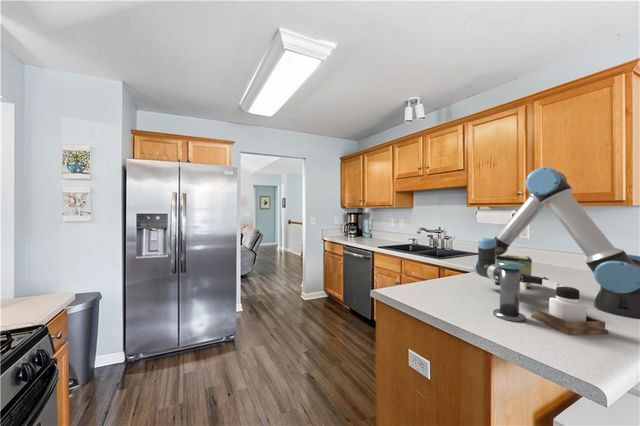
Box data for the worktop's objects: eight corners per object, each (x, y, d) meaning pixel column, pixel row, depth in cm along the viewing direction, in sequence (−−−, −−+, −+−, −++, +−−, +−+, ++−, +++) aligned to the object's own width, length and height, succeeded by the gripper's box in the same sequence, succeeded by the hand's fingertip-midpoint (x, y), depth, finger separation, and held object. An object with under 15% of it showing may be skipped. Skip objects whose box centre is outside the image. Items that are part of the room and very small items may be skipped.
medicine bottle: (586, 326, 91) (587, 291, 91) (562, 324, 92) (563, 289, 92) (570, 318, 98) (571, 285, 98) (548, 316, 99) (549, 284, 99)
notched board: (566, 316, 102) (566, 307, 102) (608, 334, 88) (608, 323, 88) (531, 317, 101) (531, 307, 101) (568, 334, 87) (568, 323, 87)
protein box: (531, 289, 138) (532, 259, 137) (494, 284, 146) (495, 256, 146) (528, 285, 147) (529, 256, 146) (494, 280, 155) (495, 253, 155)
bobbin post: (511, 311, 107) (512, 260, 107) (532, 321, 97) (534, 266, 97) (487, 311, 106) (488, 260, 106) (506, 322, 96) (508, 266, 96)
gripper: (525, 282, 127) (571, 296, 106) (475, 282, 125) (511, 297, 104) (526, 266, 127) (571, 277, 106) (475, 266, 125) (511, 277, 104)
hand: (542, 286), depth 105 cm, fingers open, 13 cm apart
